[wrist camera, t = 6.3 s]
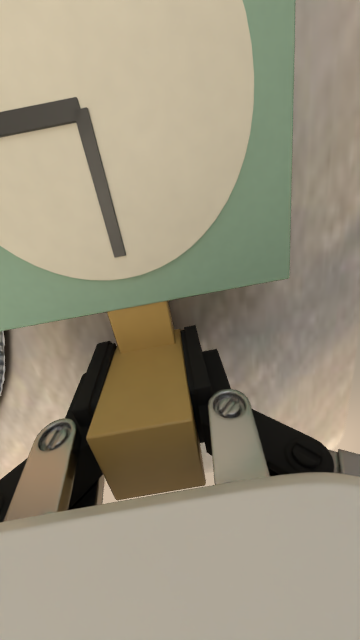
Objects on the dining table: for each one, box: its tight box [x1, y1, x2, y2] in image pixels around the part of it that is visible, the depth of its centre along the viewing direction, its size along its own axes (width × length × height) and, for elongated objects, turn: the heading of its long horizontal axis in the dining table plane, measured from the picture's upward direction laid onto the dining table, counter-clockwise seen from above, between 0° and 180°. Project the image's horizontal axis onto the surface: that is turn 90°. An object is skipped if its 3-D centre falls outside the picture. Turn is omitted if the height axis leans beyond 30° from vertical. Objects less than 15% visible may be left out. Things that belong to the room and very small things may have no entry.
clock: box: [0, 0, 295, 500], centre depth 7 cm, size 12×17×6 cm
